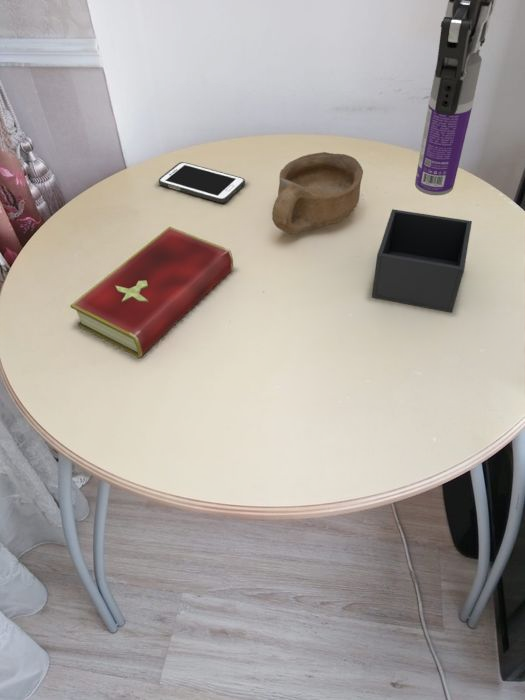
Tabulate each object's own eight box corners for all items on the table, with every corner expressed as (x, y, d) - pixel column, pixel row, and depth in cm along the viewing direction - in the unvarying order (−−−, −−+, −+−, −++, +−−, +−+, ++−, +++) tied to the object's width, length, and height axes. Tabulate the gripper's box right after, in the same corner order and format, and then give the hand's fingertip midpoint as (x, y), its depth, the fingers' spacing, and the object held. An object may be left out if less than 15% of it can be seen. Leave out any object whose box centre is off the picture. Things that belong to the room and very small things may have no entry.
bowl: (344, 254, 85) (330, 195, 79) (264, 255, 92) (245, 201, 86) (378, 193, 96) (368, 137, 89) (304, 198, 103) (290, 146, 96)
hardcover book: (234, 271, 86) (231, 248, 83) (142, 359, 74) (135, 337, 71) (173, 247, 90) (169, 225, 87) (78, 325, 79) (69, 303, 76)
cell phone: (224, 204, 98) (223, 200, 97) (157, 185, 103) (156, 180, 102) (247, 183, 102) (246, 178, 102) (181, 165, 108) (180, 160, 107)
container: (461, 188, 69) (493, 59, 58) (431, 199, 68) (457, 70, 57) (436, 171, 72) (461, 46, 61) (406, 182, 71) (427, 55, 60)
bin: (460, 263, 85) (471, 220, 79) (452, 312, 78) (464, 269, 72) (386, 251, 88) (392, 209, 82) (371, 297, 80) (377, 254, 75)
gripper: (520, -68, 44) (470, 138, 57) (547, -103, 53) (499, 83, 65) (426, -74, 47) (398, 125, 59) (466, -106, 55) (434, 74, 68)
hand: (451, 102), depth 62 cm, fingers closed on container, 4 cm apart
